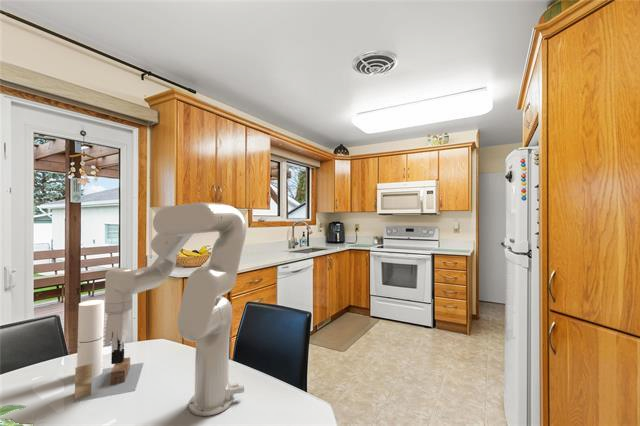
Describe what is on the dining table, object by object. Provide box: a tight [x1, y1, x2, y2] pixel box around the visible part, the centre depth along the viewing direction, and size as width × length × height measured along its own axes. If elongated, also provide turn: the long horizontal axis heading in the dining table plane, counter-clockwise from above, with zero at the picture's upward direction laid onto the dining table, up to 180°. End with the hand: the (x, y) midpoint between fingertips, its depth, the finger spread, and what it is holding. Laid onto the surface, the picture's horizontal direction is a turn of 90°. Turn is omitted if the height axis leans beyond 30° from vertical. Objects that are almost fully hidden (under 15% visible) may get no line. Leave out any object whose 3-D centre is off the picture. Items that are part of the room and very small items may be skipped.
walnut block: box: [110, 356, 131, 385], centre depth 105 cm, size 4×4×10 cm
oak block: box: [74, 364, 92, 399], centre depth 94 cm, size 4×4×8 cm
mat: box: [72, 362, 144, 403], centre depth 102 cm, size 16×20×1 cm
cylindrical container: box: [76, 299, 105, 378], centre depth 105 cm, size 7×7×25 cm
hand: (117, 362), depth 99 cm, fingers closed
